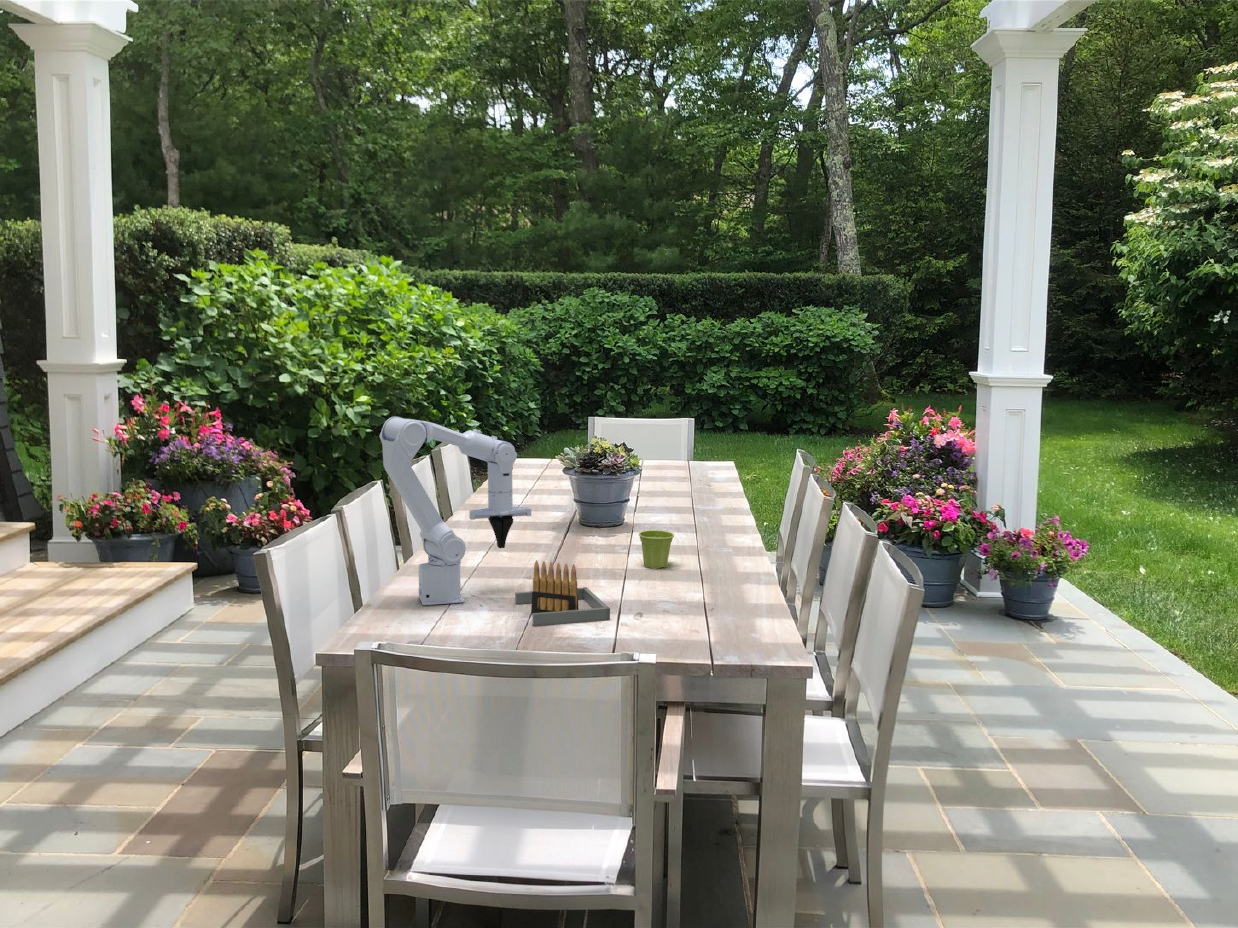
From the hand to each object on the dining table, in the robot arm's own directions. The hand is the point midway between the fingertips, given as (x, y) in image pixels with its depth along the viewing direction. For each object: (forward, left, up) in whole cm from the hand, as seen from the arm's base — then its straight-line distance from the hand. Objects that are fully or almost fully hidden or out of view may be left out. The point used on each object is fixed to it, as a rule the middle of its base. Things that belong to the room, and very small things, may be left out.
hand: (501, 547), depth 246 cm
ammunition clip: (+7, -23, -11) cm, 27 cm away
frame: (+9, -21, -10) cm, 25 cm away
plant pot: (+44, +12, -11) cm, 47 cm away
